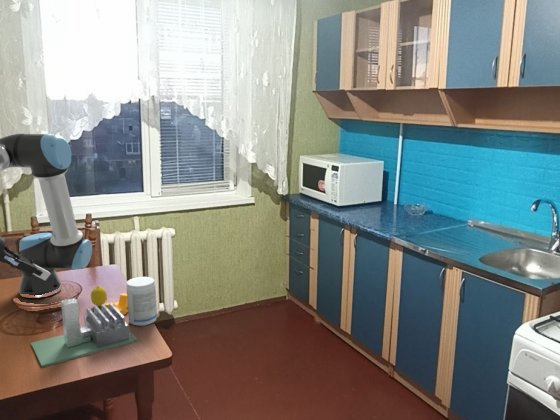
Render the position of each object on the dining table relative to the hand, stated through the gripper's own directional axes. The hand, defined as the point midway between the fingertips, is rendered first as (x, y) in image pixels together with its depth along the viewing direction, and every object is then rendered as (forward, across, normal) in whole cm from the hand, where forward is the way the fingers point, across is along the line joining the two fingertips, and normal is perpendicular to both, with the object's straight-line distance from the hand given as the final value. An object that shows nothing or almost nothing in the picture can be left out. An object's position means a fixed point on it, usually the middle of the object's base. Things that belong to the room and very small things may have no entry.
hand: (46, 276), depth 155 cm
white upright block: (+13, +16, -11) cm, 23 cm away
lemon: (+31, -5, -2) cm, 32 cm away
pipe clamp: (+29, +7, 0) cm, 29 cm away
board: (+15, +16, -10) cm, 24 cm away
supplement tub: (+31, +16, +4) cm, 35 cm away
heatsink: (+18, +17, -6) cm, 26 cm away
